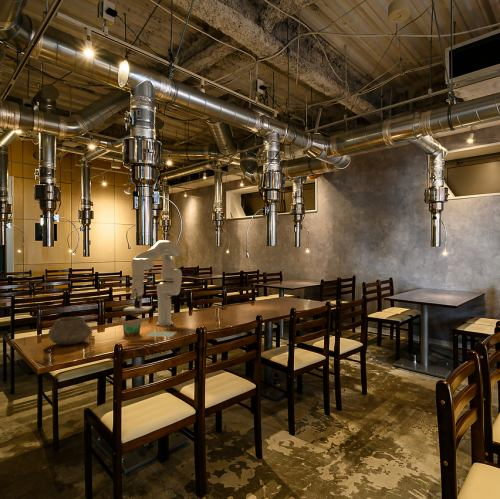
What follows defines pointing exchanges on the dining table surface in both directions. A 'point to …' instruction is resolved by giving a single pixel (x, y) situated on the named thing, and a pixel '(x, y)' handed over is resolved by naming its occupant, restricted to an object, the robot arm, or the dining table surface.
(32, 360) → the dining table surface
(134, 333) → the food container
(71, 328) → the grey rounded lump
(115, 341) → the dining table surface
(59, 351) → the dining table surface
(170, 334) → the mat
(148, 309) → the lid
